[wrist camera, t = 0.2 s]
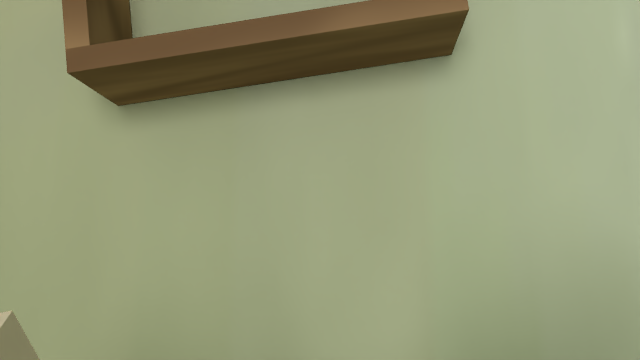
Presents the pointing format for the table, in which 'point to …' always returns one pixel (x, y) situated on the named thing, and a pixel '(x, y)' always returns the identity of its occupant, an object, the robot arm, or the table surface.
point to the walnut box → (250, 46)
